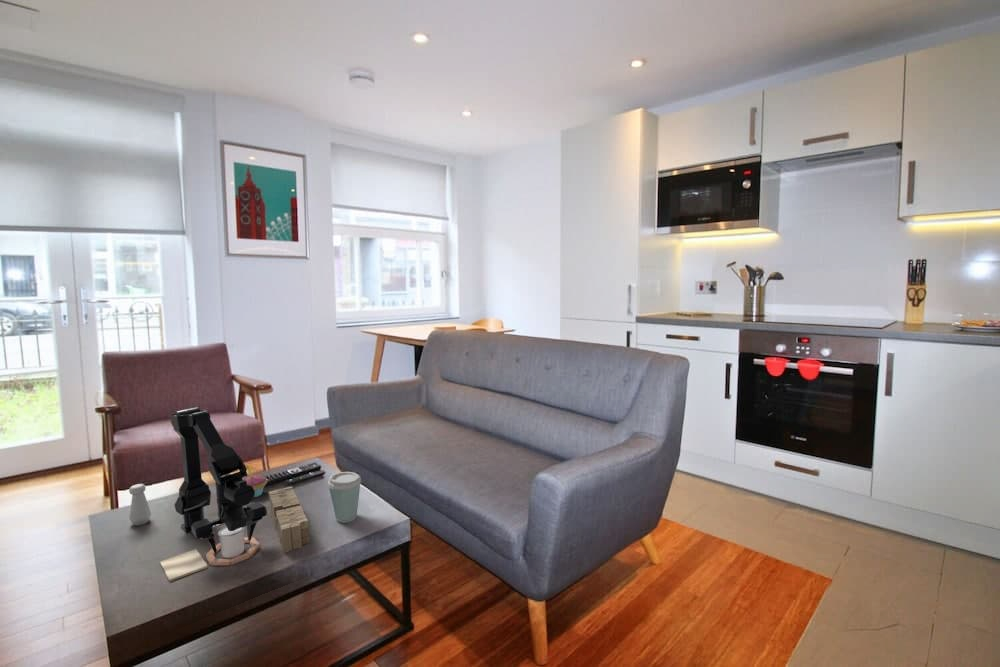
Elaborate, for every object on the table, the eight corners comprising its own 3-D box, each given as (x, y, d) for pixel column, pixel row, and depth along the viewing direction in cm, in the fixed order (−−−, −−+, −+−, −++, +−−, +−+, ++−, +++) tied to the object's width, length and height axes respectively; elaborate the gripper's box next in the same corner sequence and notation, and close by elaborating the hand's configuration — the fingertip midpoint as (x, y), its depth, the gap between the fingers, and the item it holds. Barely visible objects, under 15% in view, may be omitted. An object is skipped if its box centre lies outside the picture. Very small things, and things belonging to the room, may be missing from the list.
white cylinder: (240, 543, 149) (238, 521, 148) (250, 551, 145) (248, 528, 144) (216, 553, 144) (214, 531, 143) (225, 561, 140) (223, 538, 139)
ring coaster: (202, 552, 144) (202, 549, 144) (249, 535, 154) (249, 532, 153) (215, 571, 135) (214, 567, 135) (264, 551, 144) (264, 548, 144)
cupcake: (237, 499, 178) (234, 468, 177) (250, 489, 187) (247, 459, 185) (260, 499, 178) (258, 468, 177) (272, 489, 186) (269, 459, 185)
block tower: (310, 548, 148) (294, 507, 172) (309, 522, 147) (293, 484, 171) (282, 556, 144) (269, 512, 168) (280, 529, 143) (268, 489, 167)
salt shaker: (125, 525, 161) (121, 488, 160) (143, 517, 167) (138, 480, 165) (139, 528, 159) (134, 490, 158) (155, 519, 165) (151, 482, 163)
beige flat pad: (160, 563, 139) (160, 561, 139) (196, 550, 146) (196, 548, 145) (169, 582, 131) (169, 579, 131) (207, 567, 137) (207, 565, 137)
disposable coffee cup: (357, 507, 171) (355, 466, 169) (367, 520, 162) (365, 477, 160) (326, 516, 165) (323, 474, 163) (335, 530, 156) (332, 485, 154)
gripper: (199, 517, 130) (204, 571, 132) (271, 494, 143) (275, 544, 145) (188, 503, 138) (193, 555, 140) (258, 483, 151) (262, 530, 153)
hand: (232, 546), depth 144 cm, fingers open, 9 cm apart
